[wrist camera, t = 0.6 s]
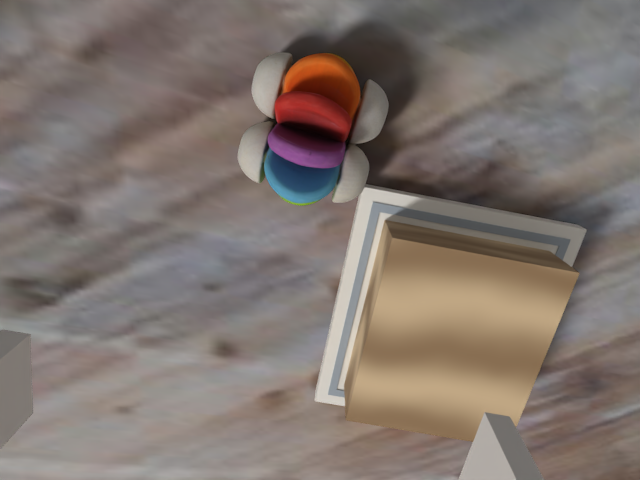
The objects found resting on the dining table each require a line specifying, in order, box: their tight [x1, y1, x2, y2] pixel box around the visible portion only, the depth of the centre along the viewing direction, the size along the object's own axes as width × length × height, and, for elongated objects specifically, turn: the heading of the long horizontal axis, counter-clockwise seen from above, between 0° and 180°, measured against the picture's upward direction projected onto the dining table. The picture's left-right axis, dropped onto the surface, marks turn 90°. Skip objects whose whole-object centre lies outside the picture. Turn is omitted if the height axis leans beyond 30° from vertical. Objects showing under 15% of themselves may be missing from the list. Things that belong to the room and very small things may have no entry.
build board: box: [315, 184, 587, 406], centre depth 34 cm, size 18×16×1 cm
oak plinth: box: [344, 220, 579, 442], centre depth 32 cm, size 14×12×4 cm
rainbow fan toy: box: [238, 53, 389, 206], centre depth 27 cm, size 8×10×7 cm
